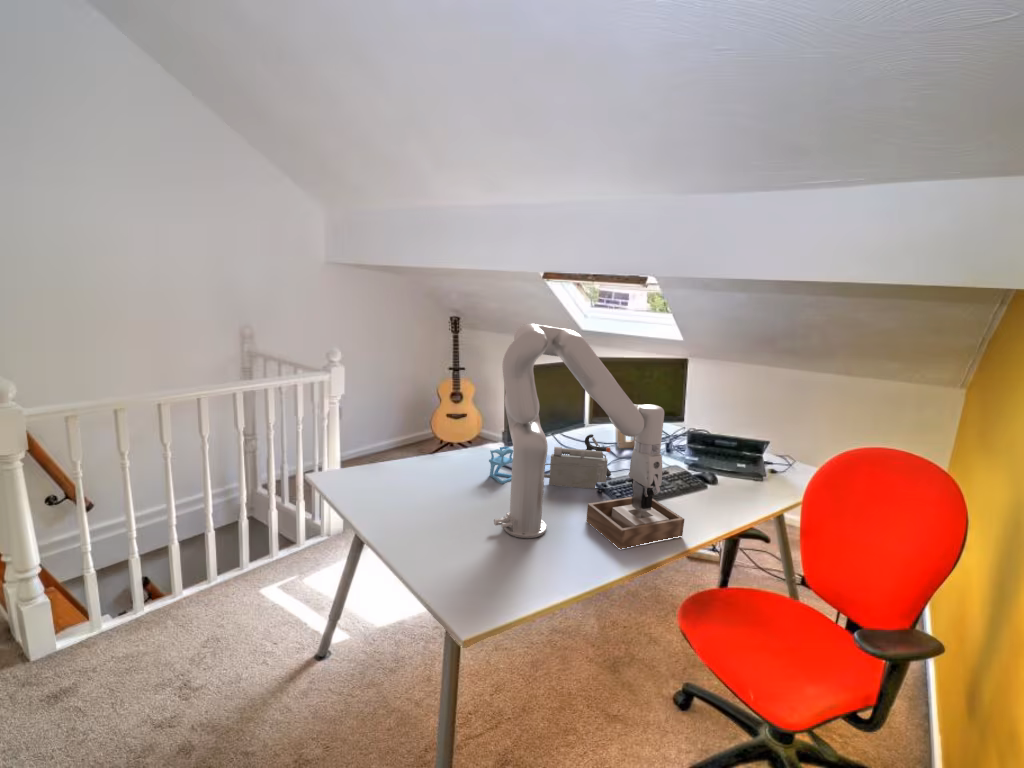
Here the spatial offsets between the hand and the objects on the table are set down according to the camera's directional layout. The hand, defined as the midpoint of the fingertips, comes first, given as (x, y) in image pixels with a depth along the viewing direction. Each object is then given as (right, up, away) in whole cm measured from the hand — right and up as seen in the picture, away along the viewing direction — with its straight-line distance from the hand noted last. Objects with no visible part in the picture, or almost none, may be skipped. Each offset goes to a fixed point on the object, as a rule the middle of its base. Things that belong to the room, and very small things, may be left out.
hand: (641, 504), depth 165 cm
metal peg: (0, -1, 0) cm, 1 cm away
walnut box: (-2, -8, +1) cm, 8 cm away
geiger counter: (-18, -1, +31) cm, 36 cm away
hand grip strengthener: (-7, +2, +44) cm, 44 cm away
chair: (-43, +2, +35) cm, 56 cm away
